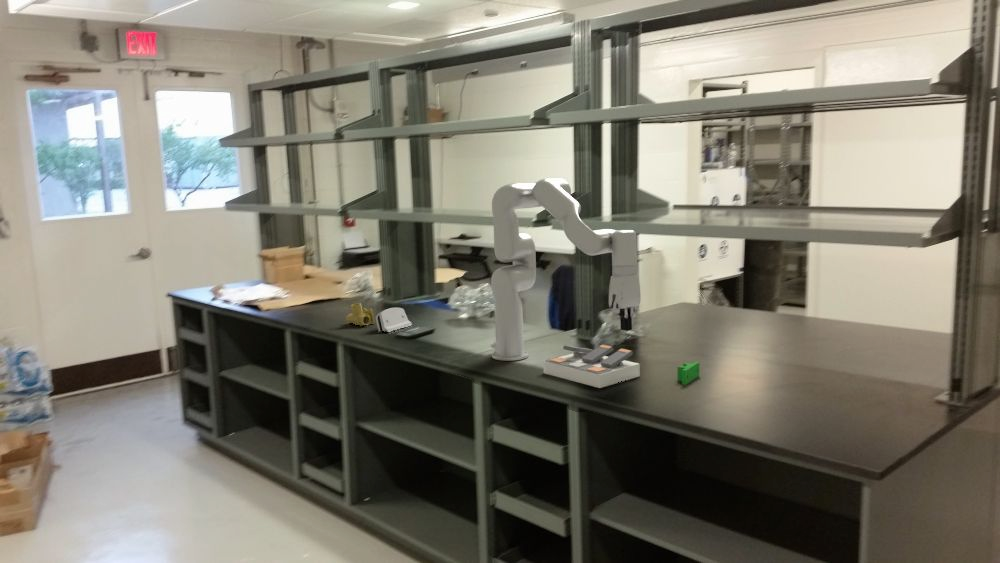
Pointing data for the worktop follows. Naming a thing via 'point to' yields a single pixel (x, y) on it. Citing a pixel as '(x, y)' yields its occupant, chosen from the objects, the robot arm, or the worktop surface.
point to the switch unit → (590, 370)
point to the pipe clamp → (688, 372)
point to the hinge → (392, 319)
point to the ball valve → (360, 315)
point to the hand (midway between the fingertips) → (626, 329)
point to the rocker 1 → (577, 349)
